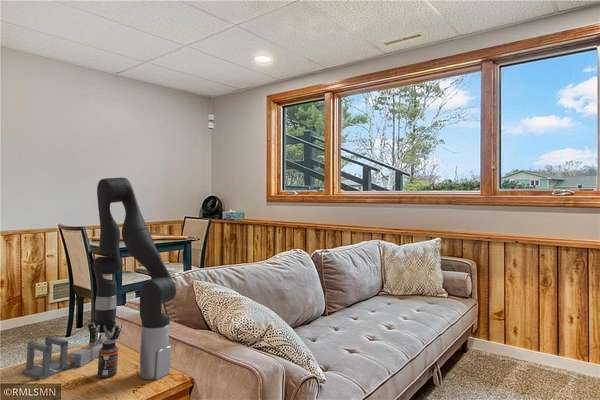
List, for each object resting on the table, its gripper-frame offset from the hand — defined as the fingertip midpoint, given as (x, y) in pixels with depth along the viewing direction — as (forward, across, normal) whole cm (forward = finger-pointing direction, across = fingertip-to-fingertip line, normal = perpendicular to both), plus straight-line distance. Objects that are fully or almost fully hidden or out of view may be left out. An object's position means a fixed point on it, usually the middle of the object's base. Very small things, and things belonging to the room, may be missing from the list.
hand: (103, 350), depth 150 cm
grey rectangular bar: (0, 0, -6) cm, 7 cm away
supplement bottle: (+1, +15, -18) cm, 23 cm away
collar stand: (0, -7, -20) cm, 21 cm away
